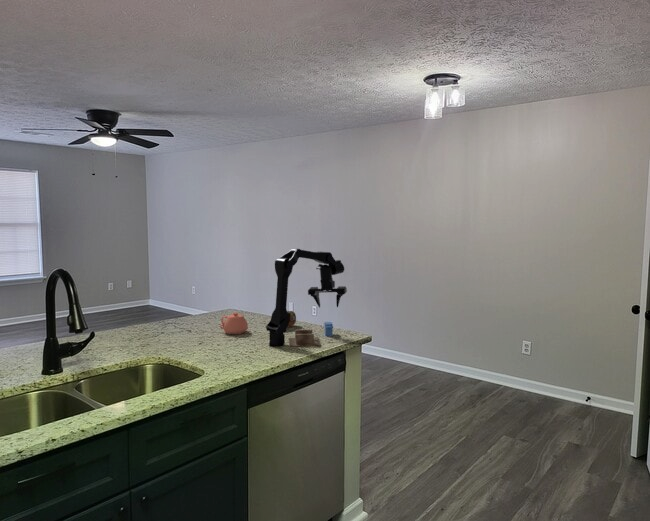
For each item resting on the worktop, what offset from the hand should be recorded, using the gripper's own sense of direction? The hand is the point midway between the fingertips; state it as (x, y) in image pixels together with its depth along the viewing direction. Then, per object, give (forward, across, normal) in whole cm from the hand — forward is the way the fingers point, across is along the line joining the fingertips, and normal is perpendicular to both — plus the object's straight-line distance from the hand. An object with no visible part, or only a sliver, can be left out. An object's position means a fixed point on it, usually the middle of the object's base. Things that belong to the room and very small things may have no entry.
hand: (328, 307), depth 232 cm
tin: (+13, +26, -6) cm, 30 cm away
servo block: (+13, 0, +4) cm, 14 cm away
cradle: (+11, +8, +21) cm, 25 cm away
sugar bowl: (+10, +47, +12) cm, 50 cm away
